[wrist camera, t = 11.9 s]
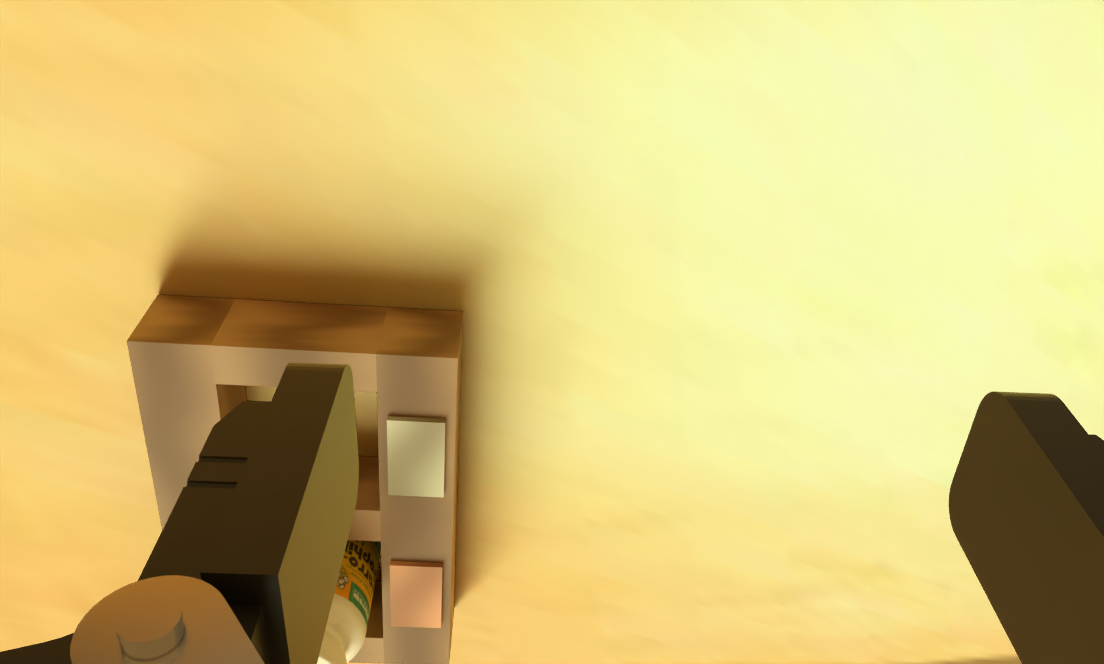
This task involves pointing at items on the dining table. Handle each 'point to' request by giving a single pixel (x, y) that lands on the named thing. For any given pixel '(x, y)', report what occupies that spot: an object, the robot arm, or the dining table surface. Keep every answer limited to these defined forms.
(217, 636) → the robot arm
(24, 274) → the dining table surface
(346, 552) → the supplement bottle
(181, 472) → the socket block
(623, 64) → the dining table surface
